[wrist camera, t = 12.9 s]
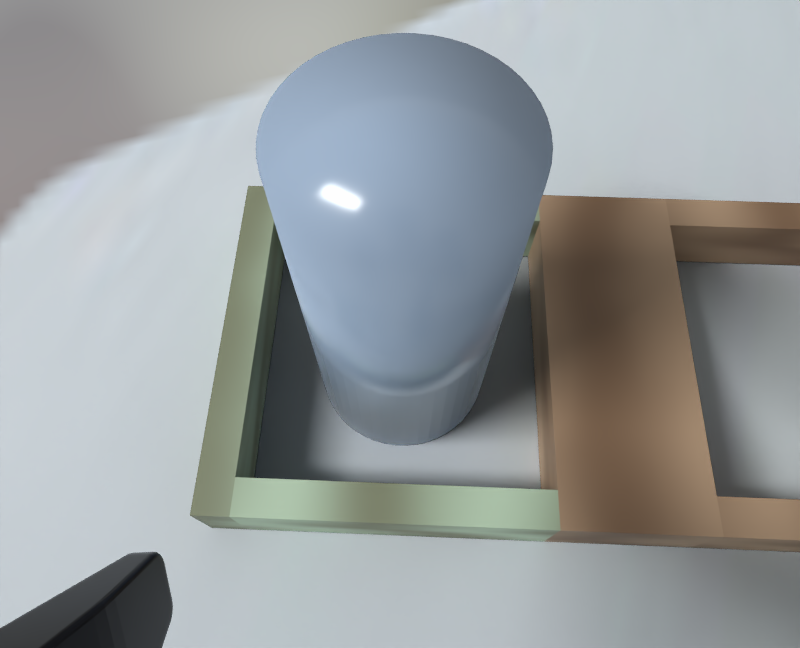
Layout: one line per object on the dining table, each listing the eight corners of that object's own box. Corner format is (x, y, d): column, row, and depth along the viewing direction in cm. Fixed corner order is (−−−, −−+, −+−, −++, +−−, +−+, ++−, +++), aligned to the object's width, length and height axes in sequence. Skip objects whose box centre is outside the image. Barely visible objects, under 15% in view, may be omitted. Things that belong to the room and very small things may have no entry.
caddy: (914, 244, 27) (962, 208, 24) (1031, 561, 21) (1105, 552, 19) (261, 223, 27) (248, 185, 25) (211, 527, 22) (189, 515, 19)
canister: (392, 479, 22) (383, 324, 11) (291, 358, 24) (198, 123, 13) (515, 376, 24) (615, 150, 13) (411, 270, 26) (419, -5, 15)
